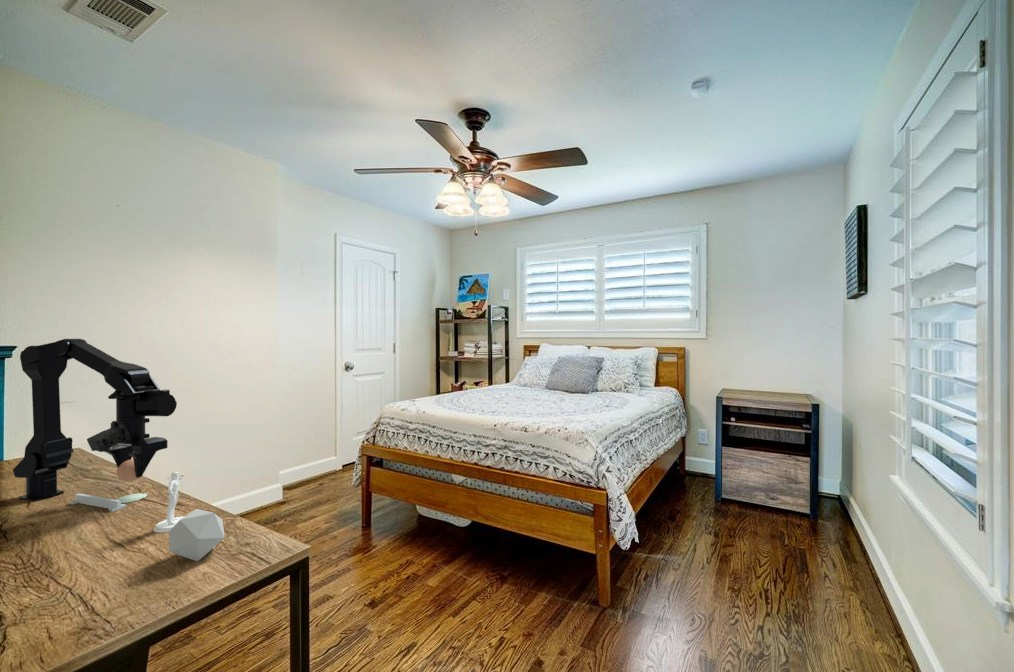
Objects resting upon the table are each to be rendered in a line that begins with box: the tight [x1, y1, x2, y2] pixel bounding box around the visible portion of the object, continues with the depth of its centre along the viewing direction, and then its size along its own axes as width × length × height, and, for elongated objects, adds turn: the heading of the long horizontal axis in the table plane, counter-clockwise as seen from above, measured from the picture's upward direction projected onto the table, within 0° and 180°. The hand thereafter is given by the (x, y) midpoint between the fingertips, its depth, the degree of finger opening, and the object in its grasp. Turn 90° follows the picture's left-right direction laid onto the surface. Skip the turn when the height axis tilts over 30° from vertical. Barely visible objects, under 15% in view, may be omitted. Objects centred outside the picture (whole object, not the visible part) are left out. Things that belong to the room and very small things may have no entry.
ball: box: [116, 458, 141, 482], centre depth 114 cm, size 6×6×6 cm
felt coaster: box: [115, 492, 148, 505], centre depth 114 cm, size 6×6×1 cm
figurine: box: [153, 471, 186, 534], centre depth 98 cm, size 7×7×12 cm
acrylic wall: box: [69, 493, 127, 513], centre depth 109 cm, size 16×3×2 cm, turn 72°
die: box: [168, 508, 225, 562], centre depth 84 cm, size 8×9×10 cm
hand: (131, 476), depth 114 cm, fingers closed on ball, 5 cm apart
